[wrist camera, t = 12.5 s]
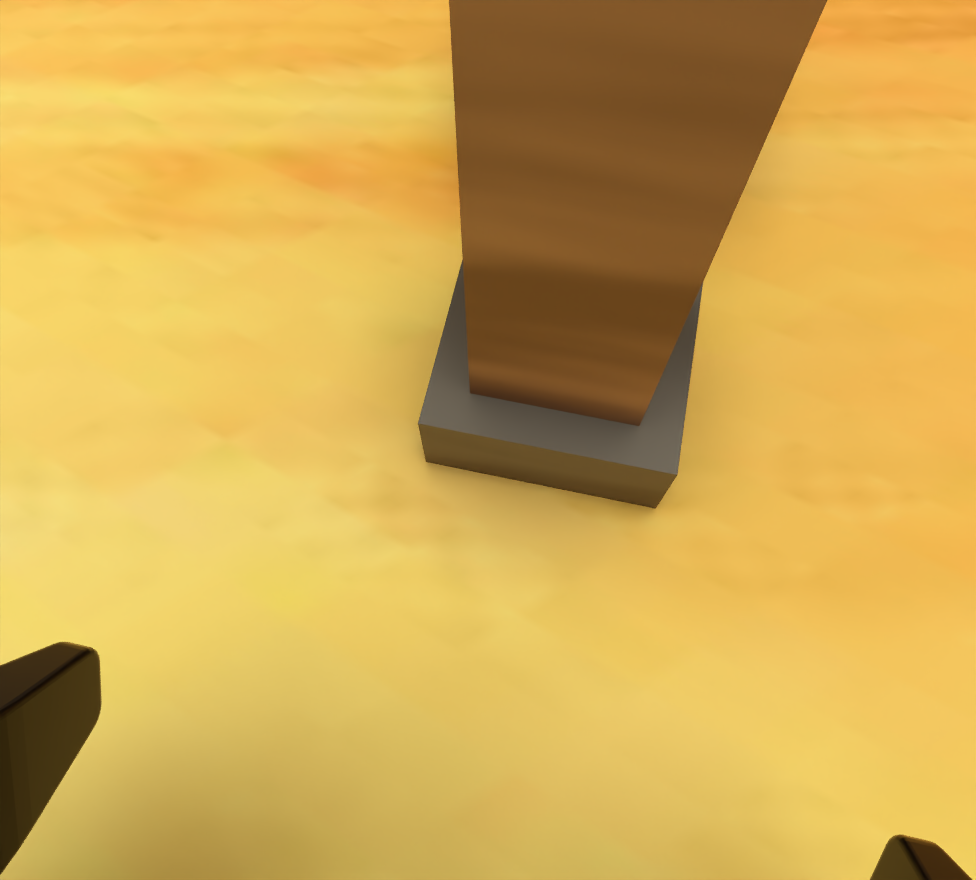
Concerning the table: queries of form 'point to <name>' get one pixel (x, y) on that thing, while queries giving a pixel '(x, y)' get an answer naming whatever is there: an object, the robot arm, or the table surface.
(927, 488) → the table surface
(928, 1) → the table surface
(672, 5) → the wooden post on base
